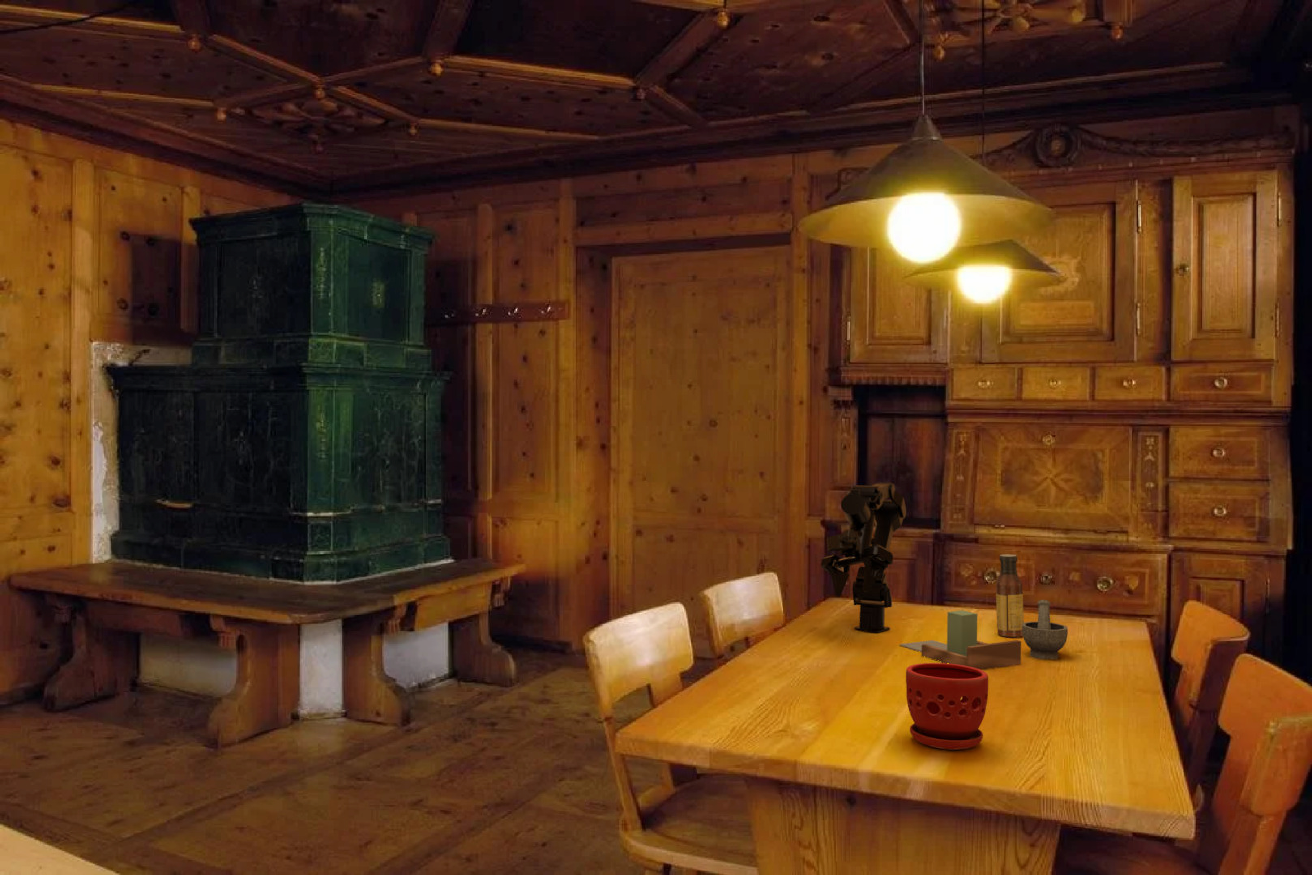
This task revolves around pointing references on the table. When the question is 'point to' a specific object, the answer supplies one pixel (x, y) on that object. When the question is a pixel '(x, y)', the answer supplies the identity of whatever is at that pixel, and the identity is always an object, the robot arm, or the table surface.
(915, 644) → the felt mat
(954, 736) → the plant pot
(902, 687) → the table surface
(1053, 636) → the mortar and pestle
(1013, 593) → the sauce bottle
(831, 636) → the table surface
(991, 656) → the frame
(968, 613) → the green block
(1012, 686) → the table surface
